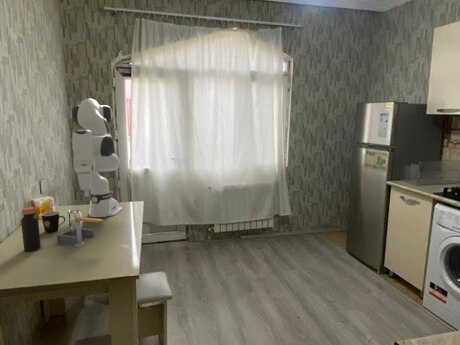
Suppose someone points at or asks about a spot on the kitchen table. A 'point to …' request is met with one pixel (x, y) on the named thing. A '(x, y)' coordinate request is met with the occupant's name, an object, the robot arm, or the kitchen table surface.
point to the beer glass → (73, 221)
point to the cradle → (75, 240)
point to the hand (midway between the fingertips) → (86, 195)
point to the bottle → (30, 230)
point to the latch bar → (91, 220)
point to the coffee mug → (51, 221)
